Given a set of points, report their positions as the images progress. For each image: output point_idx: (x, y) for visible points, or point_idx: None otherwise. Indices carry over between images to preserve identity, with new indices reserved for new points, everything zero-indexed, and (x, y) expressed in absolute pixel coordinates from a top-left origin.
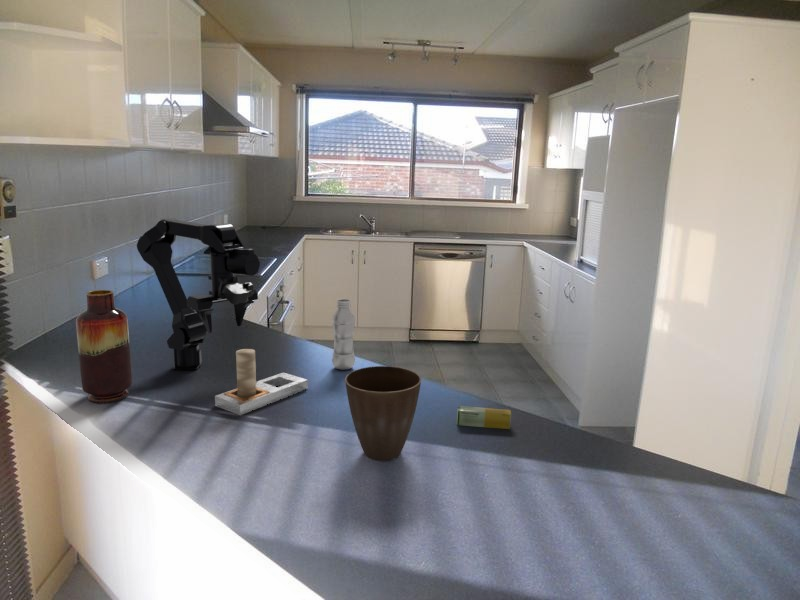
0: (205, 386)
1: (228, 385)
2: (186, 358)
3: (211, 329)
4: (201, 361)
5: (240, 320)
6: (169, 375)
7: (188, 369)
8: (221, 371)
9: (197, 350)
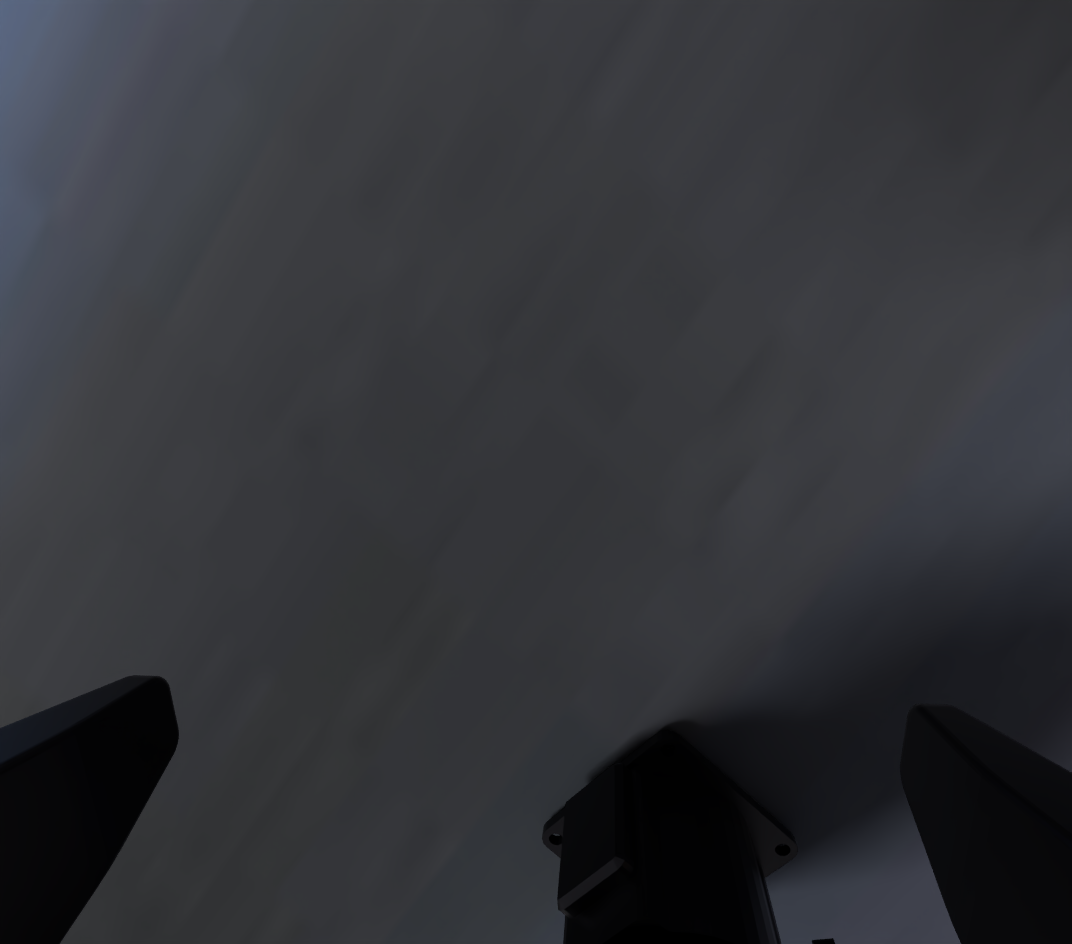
0: (886, 337)
1: (729, 200)
2: (730, 857)
3: (973, 739)
4: (568, 807)
5: (40, 740)
6: (888, 771)
7: (714, 767)
8: (544, 561)
9: (616, 890)
